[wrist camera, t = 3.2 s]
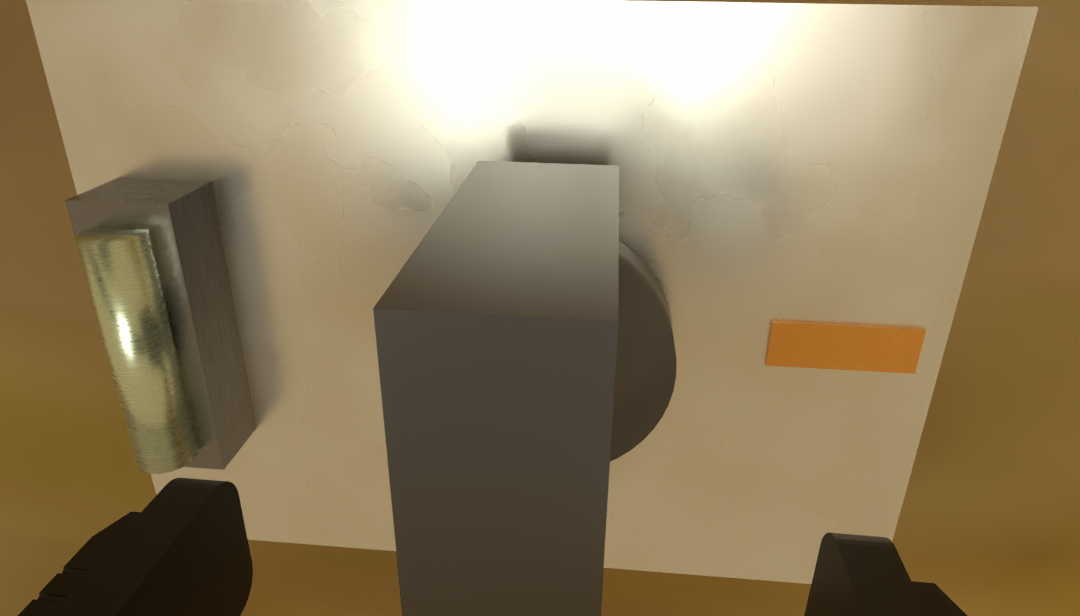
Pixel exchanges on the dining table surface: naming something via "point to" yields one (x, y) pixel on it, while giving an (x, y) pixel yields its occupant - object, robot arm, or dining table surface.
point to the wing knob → (517, 390)
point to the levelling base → (537, 137)
